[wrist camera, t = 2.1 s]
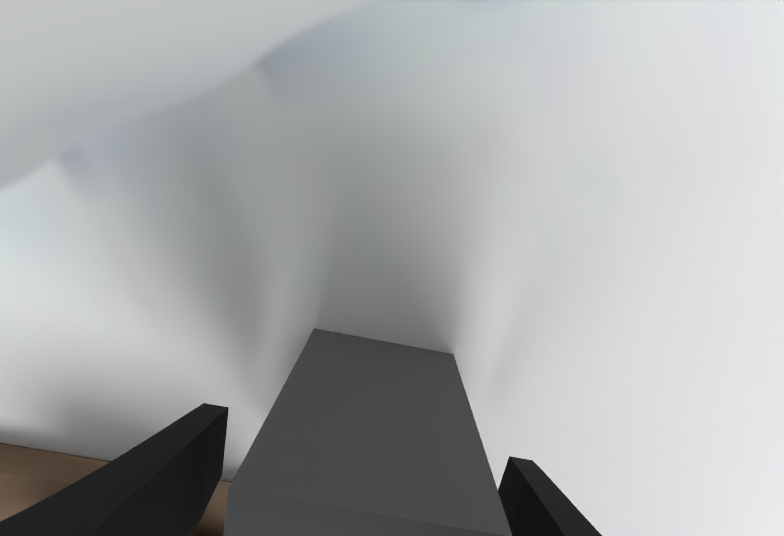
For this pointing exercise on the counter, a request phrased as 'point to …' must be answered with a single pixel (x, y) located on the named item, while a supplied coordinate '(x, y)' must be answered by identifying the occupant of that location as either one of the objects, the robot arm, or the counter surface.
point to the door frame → (57, 471)
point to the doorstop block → (367, 449)
